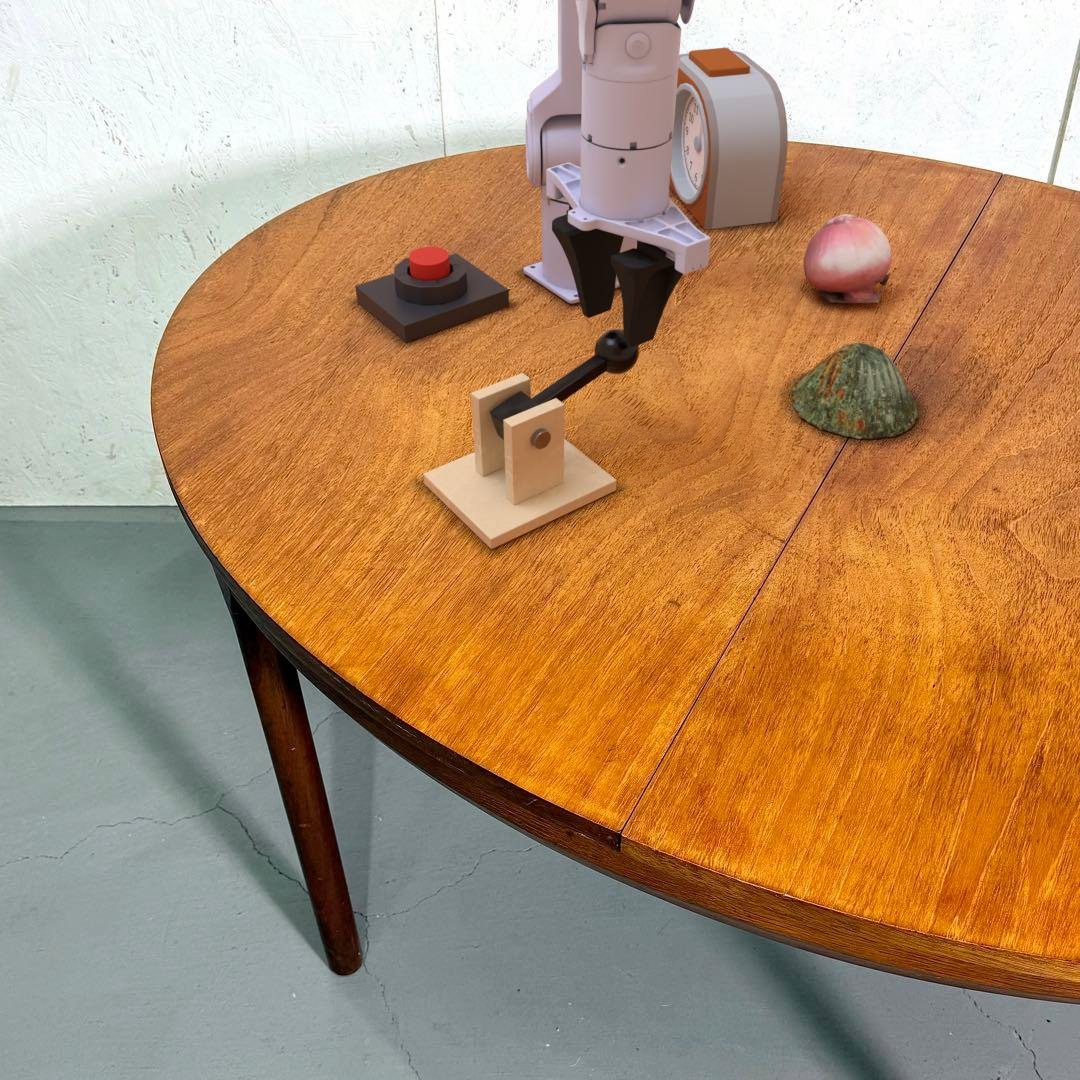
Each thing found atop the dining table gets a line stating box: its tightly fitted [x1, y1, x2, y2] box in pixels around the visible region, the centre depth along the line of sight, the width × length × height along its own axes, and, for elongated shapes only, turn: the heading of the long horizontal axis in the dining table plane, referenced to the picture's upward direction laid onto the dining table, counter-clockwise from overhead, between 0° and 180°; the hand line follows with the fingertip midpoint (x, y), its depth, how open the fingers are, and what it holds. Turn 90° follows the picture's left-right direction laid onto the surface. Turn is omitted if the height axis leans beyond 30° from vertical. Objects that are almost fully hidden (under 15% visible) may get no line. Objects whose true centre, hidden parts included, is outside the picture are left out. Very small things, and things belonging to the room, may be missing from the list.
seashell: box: [790, 342, 919, 440], centre depth 85 cm, size 10×4×10 cm
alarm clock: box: [669, 47, 789, 231], centre depth 111 cm, size 15×8×14 cm, turn 14°
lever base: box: [422, 372, 617, 550], centre depth 75 cm, size 11×9×8 cm
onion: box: [803, 213, 893, 304], centre depth 97 cm, size 8×8×7 cm
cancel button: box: [408, 246, 450, 281], centre depth 96 cm, size 4×4×2 cm
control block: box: [355, 253, 510, 344], centre depth 97 cm, size 11×9×4 cm
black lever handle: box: [490, 328, 640, 440], centre depth 75 cm, size 12×3×3 cm, turn 126°
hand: (618, 326), depth 75 cm, fingers open, 4 cm apart
